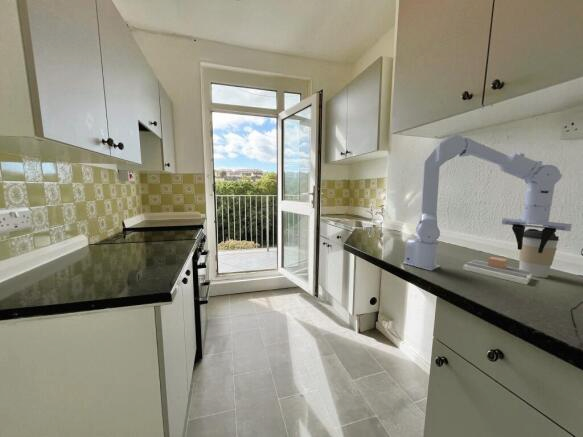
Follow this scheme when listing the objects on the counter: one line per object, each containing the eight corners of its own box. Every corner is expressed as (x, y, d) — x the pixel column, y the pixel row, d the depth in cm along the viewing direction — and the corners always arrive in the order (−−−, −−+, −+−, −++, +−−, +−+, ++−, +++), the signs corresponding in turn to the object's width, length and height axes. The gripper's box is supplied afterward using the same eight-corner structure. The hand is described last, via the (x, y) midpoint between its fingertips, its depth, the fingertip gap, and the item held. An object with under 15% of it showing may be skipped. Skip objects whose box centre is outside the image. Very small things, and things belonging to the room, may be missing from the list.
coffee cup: (560, 280, 76) (569, 233, 74) (527, 277, 78) (534, 231, 76) (537, 271, 85) (544, 229, 83) (508, 268, 86) (514, 227, 85)
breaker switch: (487, 268, 80) (488, 258, 79) (490, 266, 82) (491, 256, 81) (503, 271, 76) (504, 261, 76) (505, 269, 79) (507, 259, 78)
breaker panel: (462, 269, 83) (463, 262, 82) (471, 265, 88) (471, 258, 88) (527, 284, 70) (528, 276, 70) (531, 278, 76) (532, 271, 76)
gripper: (502, 204, 74) (495, 247, 76) (573, 208, 63) (564, 258, 65) (507, 204, 79) (501, 244, 80) (574, 208, 68) (566, 255, 69)
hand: (529, 250), depth 73 cm, fingers open, 4 cm apart
